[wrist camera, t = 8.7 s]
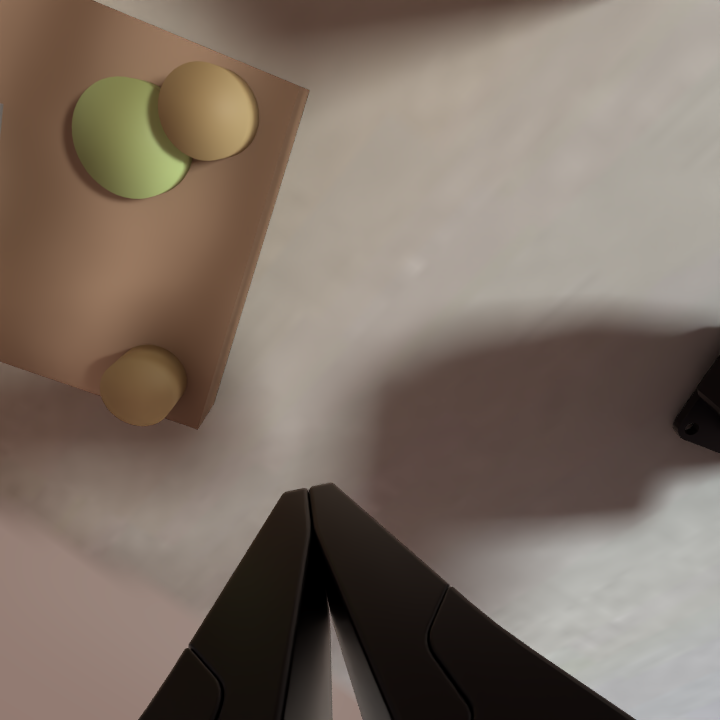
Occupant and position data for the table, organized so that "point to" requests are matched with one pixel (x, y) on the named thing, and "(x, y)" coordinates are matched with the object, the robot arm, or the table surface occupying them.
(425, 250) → the table surface
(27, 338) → the wooden base with pillar
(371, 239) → the table surface
